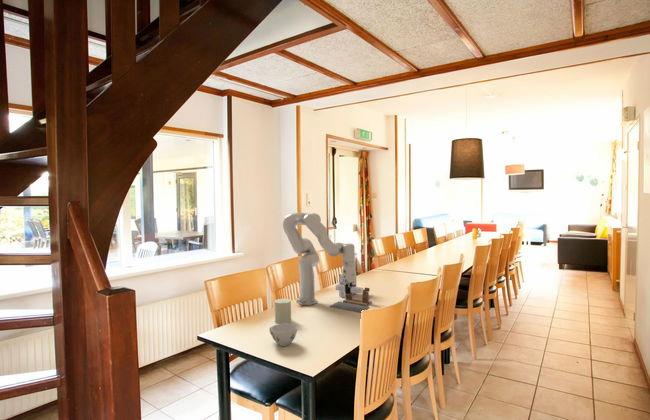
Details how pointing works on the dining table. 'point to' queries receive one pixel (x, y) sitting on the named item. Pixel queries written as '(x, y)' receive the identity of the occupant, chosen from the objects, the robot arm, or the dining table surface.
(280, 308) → the can
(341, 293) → the candy box
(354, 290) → the steel rail
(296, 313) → the dining table surface
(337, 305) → the rubber mat
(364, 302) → the cradle rack
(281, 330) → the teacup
